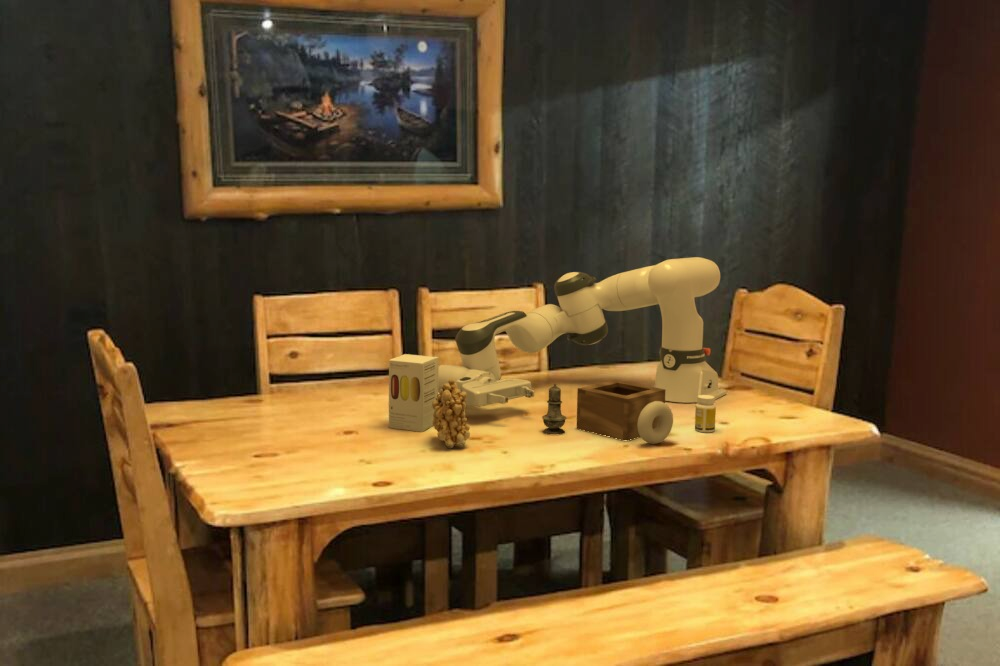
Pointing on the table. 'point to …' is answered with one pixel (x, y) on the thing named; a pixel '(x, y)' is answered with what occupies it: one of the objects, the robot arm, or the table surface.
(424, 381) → the supplement box
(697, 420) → the supplement bottle
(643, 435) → the donut
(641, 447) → the table surface
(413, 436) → the table surface
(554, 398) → the salt shaker
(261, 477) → the table surface
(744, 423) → the table surface
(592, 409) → the box
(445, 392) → the mineral formation
